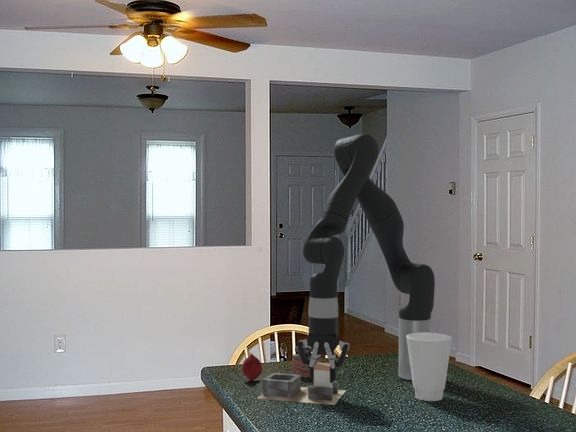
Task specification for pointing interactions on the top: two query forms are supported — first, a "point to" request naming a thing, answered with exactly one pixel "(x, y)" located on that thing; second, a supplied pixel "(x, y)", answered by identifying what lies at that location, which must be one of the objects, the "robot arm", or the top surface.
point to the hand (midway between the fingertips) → (323, 381)
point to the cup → (429, 363)
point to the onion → (252, 367)
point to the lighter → (298, 364)
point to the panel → (298, 390)
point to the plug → (322, 375)
